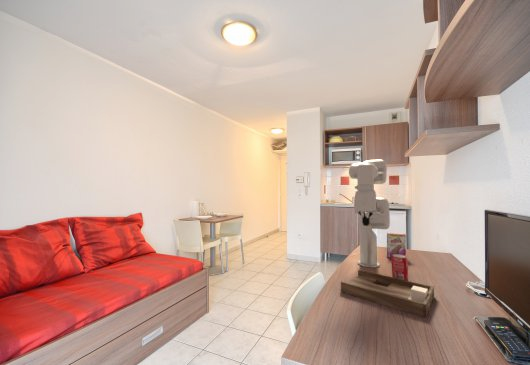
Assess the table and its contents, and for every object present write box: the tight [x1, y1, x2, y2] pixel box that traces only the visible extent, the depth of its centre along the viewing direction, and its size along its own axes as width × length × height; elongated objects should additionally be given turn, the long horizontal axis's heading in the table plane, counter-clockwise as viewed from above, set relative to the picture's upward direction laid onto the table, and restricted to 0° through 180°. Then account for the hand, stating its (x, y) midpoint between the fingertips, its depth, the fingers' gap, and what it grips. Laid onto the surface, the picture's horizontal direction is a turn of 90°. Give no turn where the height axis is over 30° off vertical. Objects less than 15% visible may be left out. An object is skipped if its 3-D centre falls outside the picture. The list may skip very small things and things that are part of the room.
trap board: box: [340, 269, 435, 318], centre depth 105 cm, size 22×32×4 cm
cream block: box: [411, 286, 428, 302], centre depth 97 cm, size 5×5×4 cm
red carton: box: [391, 254, 409, 281], centre depth 120 cm, size 7×7×13 cm
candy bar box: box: [386, 231, 407, 259], centre depth 162 cm, size 11×5×16 cm, turn 66°
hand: (365, 225), depth 119 cm, fingers closed
